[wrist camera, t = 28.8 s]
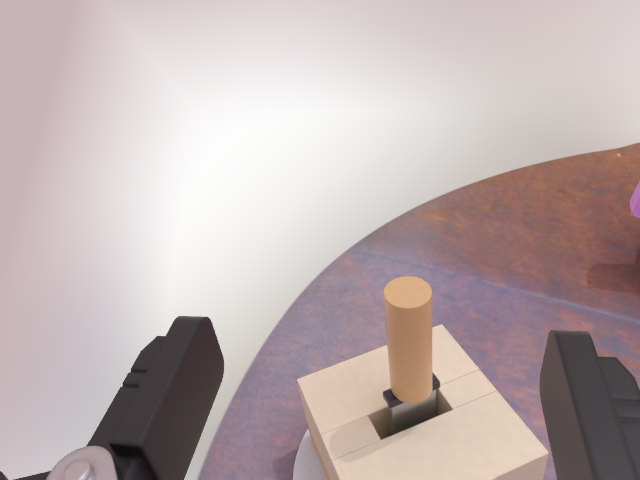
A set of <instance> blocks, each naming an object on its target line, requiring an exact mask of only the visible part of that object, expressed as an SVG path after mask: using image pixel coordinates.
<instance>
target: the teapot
mask: <svg viewBox="0 0 640 480" xmlns="http://www.w3.org/2000/svg"><path fill="white" fill-rule="evenodd" d="M630 206H631V214H632V215H634V216H635V217H637V218H638V219H640V181H639V183H638V185H637V187H636V189H635V192H634V194H633V196H632V198H631V200H630Z"/></svg>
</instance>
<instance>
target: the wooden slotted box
mask: <svg viewBox="0 0 640 480" xmlns="http://www.w3.org/2000/svg"><path fill="white" fill-rule="evenodd" d="M432 372H433V373H434V374H435V376H436V377H437V378H438V380H439V381H440V388H438V389H436V417H434V418H432V419H430V420H427V421H425V422H423V423H420V424H418V425H416V426H413V427H411V428H408V429H406V430H404V431H401V432H399V433H397V434H394V435H392V436H391V434H390V423H389V411H388V405H387V403H386V401H385V400H384V398H383V391H385V390H388V389H390V388H391V385H390V372H389V360H388V347H387V345H386V346H383V347H381V348H378V349H375V350H373V351H370V352H367V353H365V354H362V355H360V356H357V357H354V358H352V359H349V360H346V361H344V362H341V363H339V364H336V365H333V366H331V367H328V368H325V369H323V370H320V371H318V372H315V373H312V374H310V375H307V376H304V377H302V378H299V379H297V383H298V387H299V391H300V396H301V400H302V404H303V408H304V412H305V417H306V421H307V425H308V429H309V433H310V437H311V439H312V442H313V444H314V447H315V449H316V452H317V454H318V457H319V459H320V461H321V464H322V466H323V469H324V471H325V474H326V476H327V479H328V480H543V477H544V472H545V468H546V463H547V459H548V454H549V453H548V451H547V450H546V449H545V448H544V446H543V445H542V444H541V443H540V442H539V440H538V439H537V438H536V437H535V436H534V434H533V433H532V432H531V431H530V430H529V428H528V427H527V426H526V425H525V424H524V422H523V421H522V420H521V419H520V418H519V416H518V415H517V414H516V413H515V411H514V410H513V409H512V408H511V407H510V405H509V404H508V403H507V402H506V401H505V399H504V398H503V397H502V396H501V395H500V393H499V392H498V391H497V390H496V389H495V388H494V386H493V385H492V384H491V383H490V382H489V380H488V379H487V378H486V377H485V376H484V374H483V373H482V372H481V371H480V370H479V368H478V367H477V366H476V365H475V364H474V362H473V361H472V360H471V359H470V358H469V356H468V355H467V354H466V353H465V352H464V350H463V349H462V348H461V347H460V346H459V344H458V343H457V342H456V341H455V340H454V338H453V337H452V336H451V335H450V334H449V332H448V331H447V330H446V329H445V328H444V326H443V325H442V324H441V325H438V326H436V327H433V328H432Z"/></svg>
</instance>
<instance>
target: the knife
mask: <svg viewBox="0 0 640 480" xmlns="http://www.w3.org/2000/svg"><path fill="white" fill-rule="evenodd" d="M383 296H384V308H385V321H386V334H387V347H388V360H389V372H390V385H391V388H390V389H388V390H385V391H383V398H384V400H385V401H386V403H387V405H388V411H389V423H390V434H391V436H392V435H394V434H397V433H399V432H401V431H404V430H406V429H408V428H411V427H413V426H416V425H418V424H420V423H423V422H425V421H427V420H430V419H432V418H434V417H436V389H438V388H440V381H439V380H438V378H437V377H436V376H435V374H434V373H433V372H432V290H431V287H430V286H429V284H428V283H427V282H425V281H424V280H422V279H420V278H417V277H410V276H405V277H399V278H396V279H394V280H392V281H390V282H389V283H388V284H387V285H386V286H385V288H384V292H383Z"/></svg>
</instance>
